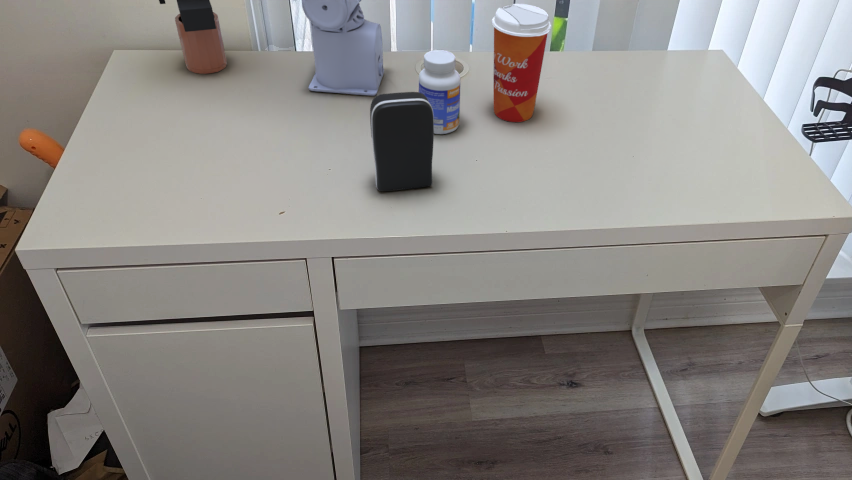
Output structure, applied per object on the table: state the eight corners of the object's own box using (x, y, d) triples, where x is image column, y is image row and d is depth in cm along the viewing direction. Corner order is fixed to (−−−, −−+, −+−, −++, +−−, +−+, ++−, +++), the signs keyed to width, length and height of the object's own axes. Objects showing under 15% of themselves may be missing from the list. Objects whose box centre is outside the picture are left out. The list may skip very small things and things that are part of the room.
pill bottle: (453, 138, 95) (455, 69, 89) (413, 131, 96) (413, 62, 89) (463, 118, 99) (466, 51, 93) (425, 111, 100) (425, 44, 93)
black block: (216, 29, 98) (212, 7, 96) (185, 32, 97) (179, 10, 95) (207, 3, 104) (203, -18, 102) (177, 6, 103) (172, -16, 101)
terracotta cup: (232, 58, 107) (223, 11, 103) (220, 75, 103) (210, 27, 98) (194, 54, 107) (183, 8, 102) (180, 72, 103) (168, 24, 98)
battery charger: (428, 170, 89) (428, 85, 82) (434, 187, 87) (435, 101, 79) (371, 176, 88) (366, 89, 80) (376, 194, 85) (371, 106, 77)
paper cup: (474, 108, 101) (479, 9, 92) (514, 93, 106) (523, -3, 96) (512, 132, 97) (522, 31, 88) (552, 115, 102) (565, 18, 92)
